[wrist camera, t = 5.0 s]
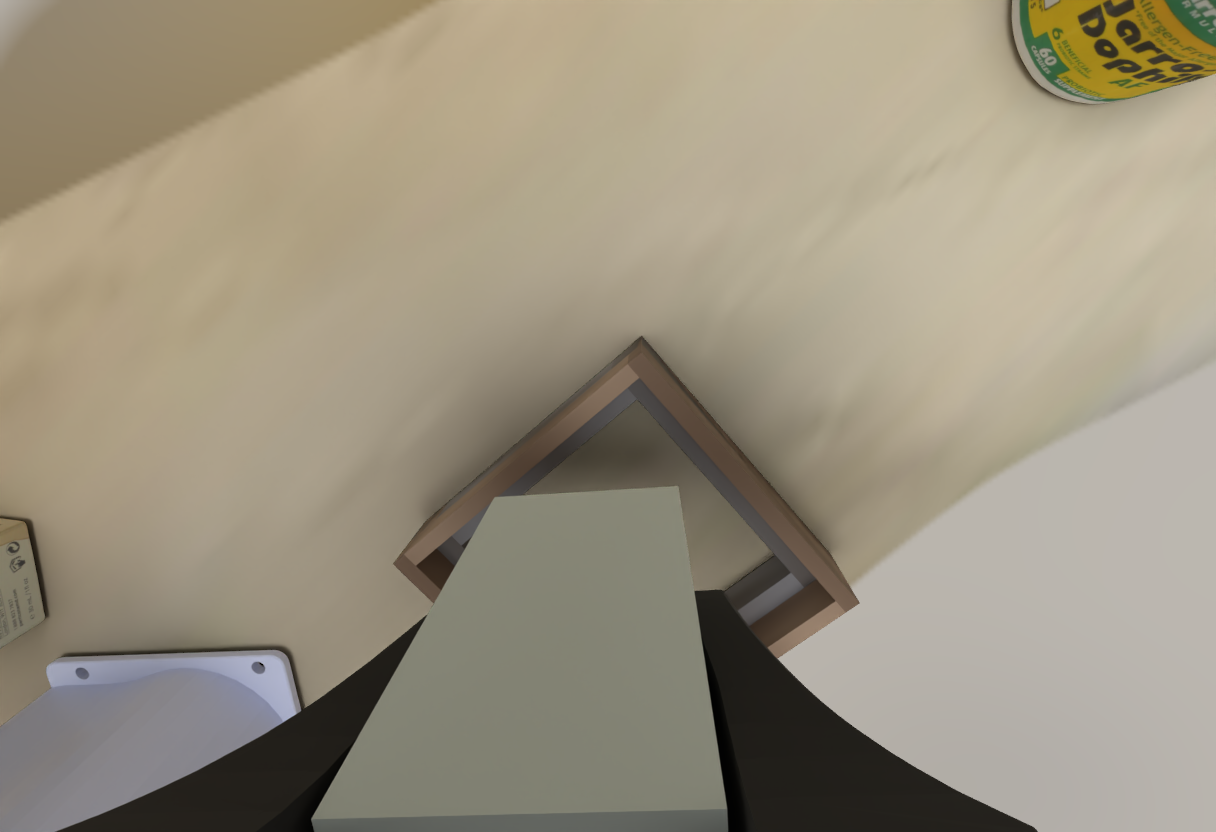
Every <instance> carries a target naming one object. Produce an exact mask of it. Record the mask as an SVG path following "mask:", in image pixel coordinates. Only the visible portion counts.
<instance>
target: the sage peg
mask: <svg viewBox="0 0 1216 832" xmlns="http://www.w3.org/2000/svg"><path fill="white" fill-rule="evenodd" d="M311 821H312V825H313V828H314V832H728V817H727V805H726V798H725V792H724V785H723V778H722V772H721V765H720V758H719V752H718V745H717V738H716V732H715V725H714V719H713V712H712V705H711V699H710V692H709V685H708V679H707V672H706V666H705V659H704V652H703V646H702V639H701V632H700V626H699V619H698V612H697V606H696V599H695V593H694V586H693V579H692V573H691V566H690V559H689V553H688V546H687V539H686V533H685V526H684V520H683V513H682V506H681V500H680V493H679V486H669V487H653V488H636V489H620V490H604V491H587V492H571V493H555V494H538V495H522V496H505V497H494V499H493V501H492V502H491V504H490V506H489V508H488V509H487V511H486V513H485V515H484V517H483V518H482V520H481V522H480V524H479V525H478V527H477V529H476V531H475V532H474V534H473V536H472V538H471V539H470V541H469V543H468V545H467V546H466V548H465V550H464V552H463V553H462V555H461V557H460V559H459V560H458V562H457V564H456V566H455V567H454V569H453V571H452V573H451V574H450V576H449V578H448V580H447V582H446V583H445V585H444V587H443V589H442V590H441V592H440V594H439V596H438V597H437V599H436V601H435V603H434V604H433V606H432V608H431V610H430V611H429V613H428V615H427V617H426V618H425V620H424V622H423V624H422V625H421V627H420V629H419V631H418V632H417V634H416V636H415V638H414V639H413V641H412V643H411V645H410V646H409V648H408V650H407V652H406V654H405V655H404V657H403V659H402V661H401V662H400V664H399V666H398V668H397V669H396V671H395V673H394V675H393V676H392V678H391V680H390V682H389V683H388V685H387V687H386V689H385V690H384V692H383V694H382V696H381V697H380V699H379V701H378V703H377V704H376V706H375V708H374V710H373V711H372V713H371V715H370V717H369V719H368V720H367V722H366V724H365V726H364V727H363V729H362V731H361V733H360V734H359V736H358V738H357V740H356V741H355V743H354V745H353V747H352V748H351V750H350V752H349V754H348V755H347V757H346V759H345V761H344V762H343V764H342V766H341V768H340V769H339V771H338V773H337V775H336V776H335V778H334V780H333V782H332V783H331V785H330V787H329V789H328V791H327V792H326V794H325V796H324V798H323V799H322V801H321V803H320V805H319V806H318V808H317V810H316V812H315V813H314V815H313V817H312V819H311Z"/></svg>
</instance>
